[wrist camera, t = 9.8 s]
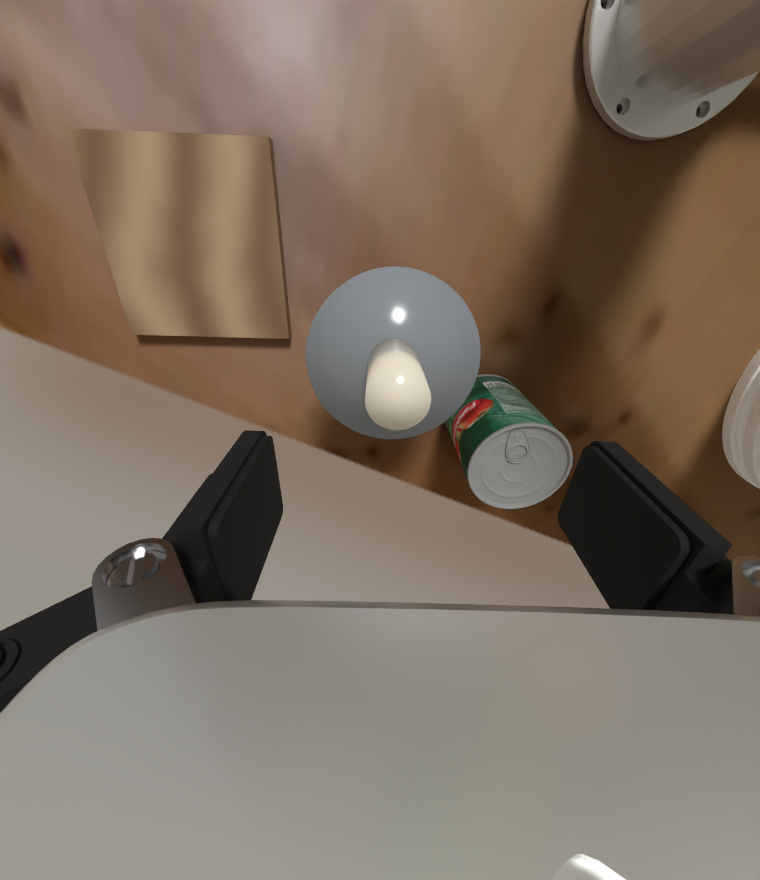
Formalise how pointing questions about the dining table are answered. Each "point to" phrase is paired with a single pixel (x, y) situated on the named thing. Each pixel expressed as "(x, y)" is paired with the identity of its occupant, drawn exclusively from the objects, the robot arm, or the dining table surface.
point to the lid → (393, 352)
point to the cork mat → (189, 230)
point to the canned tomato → (508, 446)
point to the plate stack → (744, 425)
